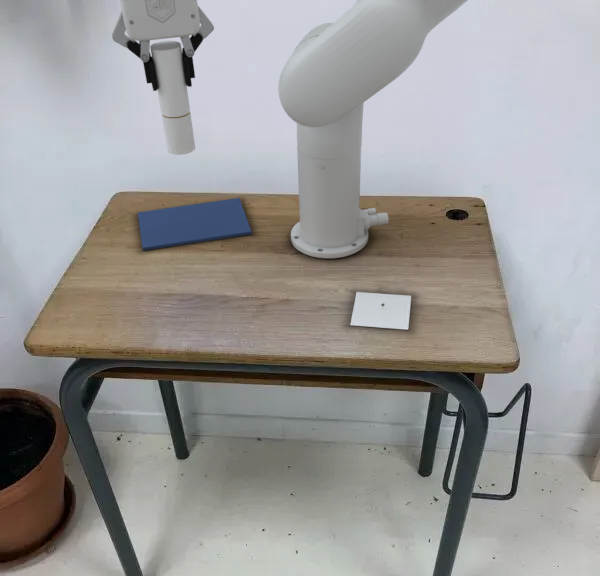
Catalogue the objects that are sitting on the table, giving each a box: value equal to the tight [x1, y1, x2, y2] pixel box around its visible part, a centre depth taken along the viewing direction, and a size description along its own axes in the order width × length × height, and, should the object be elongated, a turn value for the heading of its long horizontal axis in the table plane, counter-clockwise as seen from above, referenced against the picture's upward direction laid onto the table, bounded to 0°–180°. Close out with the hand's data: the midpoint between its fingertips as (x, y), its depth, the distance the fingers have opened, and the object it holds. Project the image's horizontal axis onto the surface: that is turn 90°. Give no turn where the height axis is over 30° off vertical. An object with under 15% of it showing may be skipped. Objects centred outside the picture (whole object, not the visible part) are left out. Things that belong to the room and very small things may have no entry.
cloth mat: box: [137, 197, 253, 251], centre depth 118 cm, size 18×12×1 cm, turn 103°
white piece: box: [350, 291, 412, 331], centre depth 98 cm, size 8×8×1 cm
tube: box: [150, 40, 196, 156], centre depth 103 cm, size 4×4×15 cm
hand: (171, 84), depth 101 cm, fingers closed on tube, 4 cm apart
